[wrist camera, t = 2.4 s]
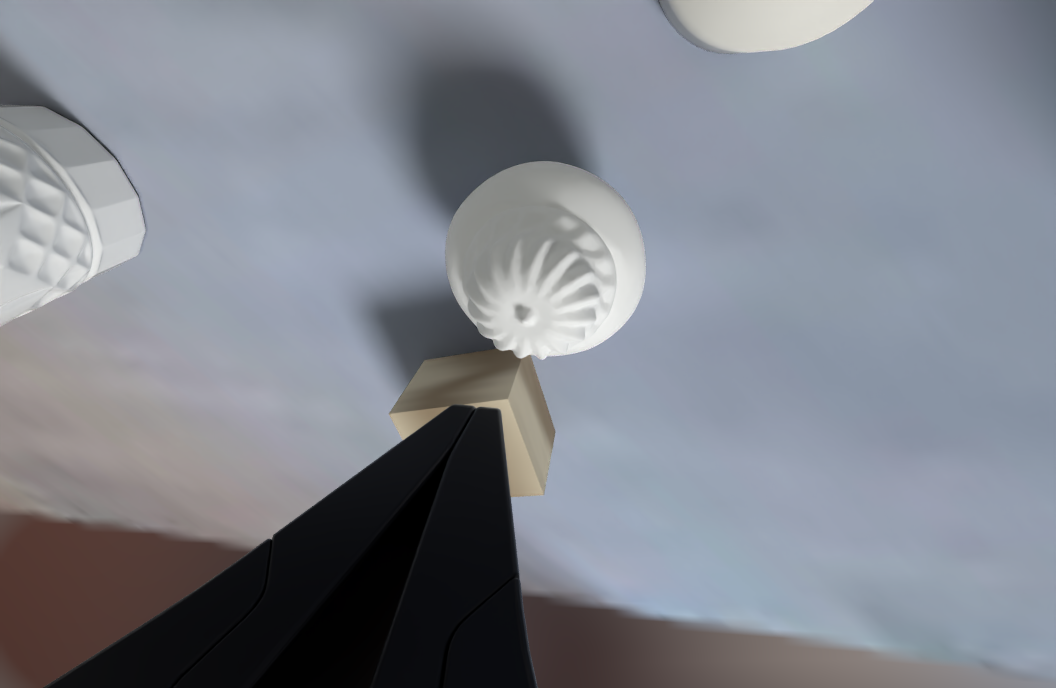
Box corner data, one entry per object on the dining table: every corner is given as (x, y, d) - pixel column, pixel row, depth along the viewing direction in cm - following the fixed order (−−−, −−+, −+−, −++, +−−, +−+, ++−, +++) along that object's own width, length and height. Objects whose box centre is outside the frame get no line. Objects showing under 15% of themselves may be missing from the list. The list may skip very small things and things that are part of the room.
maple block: (527, 342, 20) (508, 398, 17) (555, 429, 22) (543, 495, 19) (425, 358, 21) (388, 413, 18) (462, 439, 24) (435, 501, 20)
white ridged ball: (675, 185, 15) (707, 260, 10) (599, 329, 19) (589, 450, 13) (504, 113, 15) (430, 145, 9) (458, 272, 19) (382, 368, 13)
